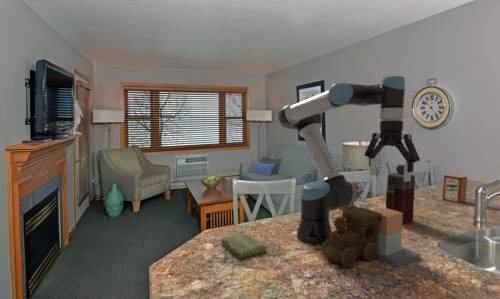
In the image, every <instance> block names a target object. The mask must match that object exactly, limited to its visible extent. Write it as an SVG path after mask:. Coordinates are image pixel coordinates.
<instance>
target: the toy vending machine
mask: <svg viewBox="0 0 500 299" xmlns="http://www.w3.org/2000/svg"><path fill="white" fill-rule="evenodd" d="M404 167H405V164H399V165H397V166H396V168H395V170H396V172H393V173H388V174H387V178H386V180H387V181H386V183H387V184H386V192H385V193H386V195H385V209H391V210H394V211H398V212H401V213H403V218H402V225H405V224H407V223H411V222H414V206H415V205H414V204H415V187H416V186H415V184H416V183H415V182H416V175H415V174H412V173H411V180H410V181H407V182H405V181H404Z"/></svg>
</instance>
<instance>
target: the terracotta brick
mask: <svg viewBox="0 0 500 299" xmlns="http://www.w3.org/2000/svg"><path fill="white" fill-rule="evenodd" d="M376 212H378V213H380V214H382V222H379V223H378V233H380V234H383V235H386V236H388V235H391V234H394V233H397V232H400V231H402V232H403V224H402V218H403V213H401V212H398V211H394V210H391V209H386V208H385V209H382V210H377V211H376Z"/></svg>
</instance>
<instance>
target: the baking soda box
mask: <svg viewBox="0 0 500 299" xmlns="http://www.w3.org/2000/svg"><path fill="white" fill-rule="evenodd" d="M467 184H468V176H465V175H464V176H463V175H459V174H458V175H457V174H446V175H443V188H442V189H443V190H442V192H443V193H442V200H443V201H446V202H450V203H454V204H460V205H461V204H464V203H466V200H467V199H466V198H467V186H468V185H467Z"/></svg>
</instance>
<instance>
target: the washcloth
mask: <svg viewBox="0 0 500 299" xmlns="http://www.w3.org/2000/svg"><path fill="white" fill-rule="evenodd" d="M220 241H221V246H223V247H224V248H226V249H227V250H228V251H229V252H231V253H232V254H233V255H235V256H236V257H237V258H238V259H244V258H247V257H252V256H254V255H259V254H263V253H266V252H267V251H268V250H267V247H266V246H267V245H266V244H264V243H263V242H260V241H259V240H257V239H256V238H254V237H253V236H251V235H250V234H248V233H244V234H243V233H242V234H235V235H230V236H228V237H226V236H225V237H221V240H220Z"/></svg>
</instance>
